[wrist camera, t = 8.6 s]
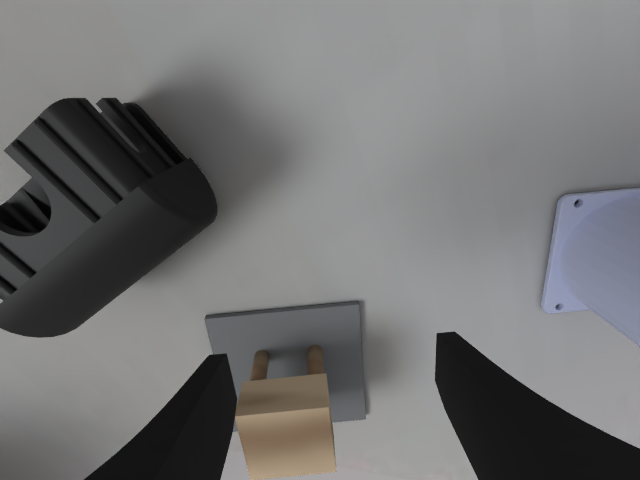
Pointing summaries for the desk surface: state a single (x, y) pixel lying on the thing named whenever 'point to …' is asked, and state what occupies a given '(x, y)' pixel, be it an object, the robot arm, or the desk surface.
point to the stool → (286, 421)
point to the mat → (297, 348)
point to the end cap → (92, 212)
